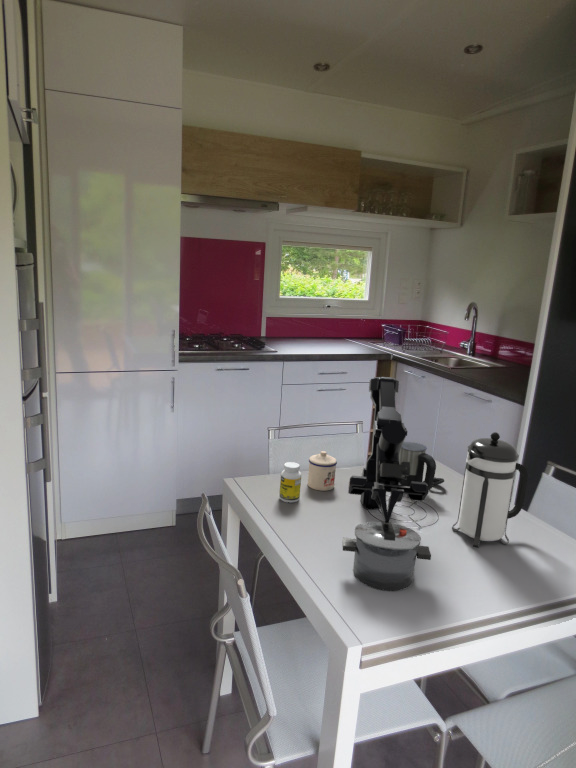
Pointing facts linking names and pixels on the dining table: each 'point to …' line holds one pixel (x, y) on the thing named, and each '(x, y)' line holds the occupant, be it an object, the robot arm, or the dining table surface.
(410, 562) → the steel pot
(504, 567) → the dining table surface
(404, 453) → the milk frother
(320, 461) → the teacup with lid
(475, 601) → the dining table surface
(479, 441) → the coffee press
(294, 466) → the pill bottle
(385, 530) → the pot lid
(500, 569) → the dining table surface
